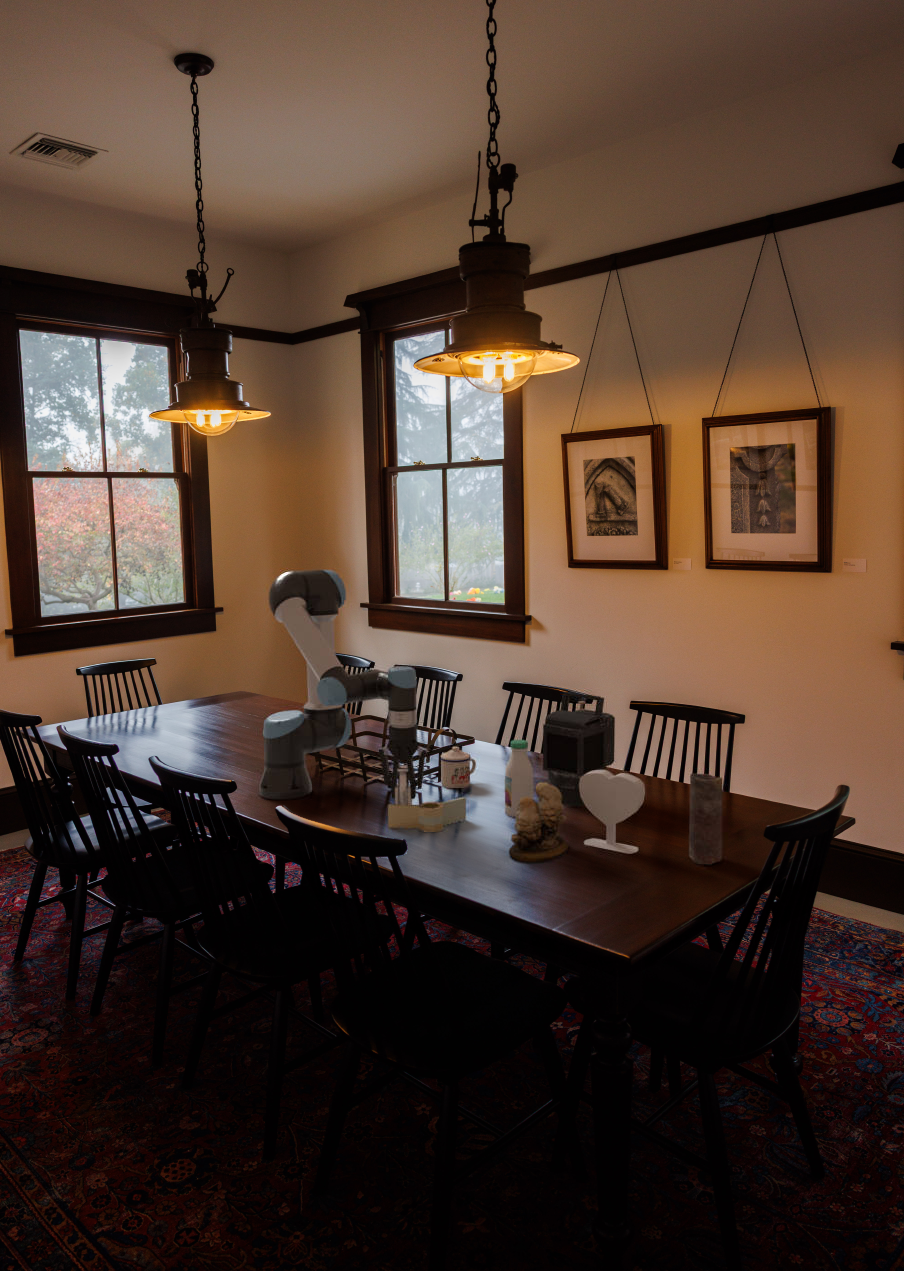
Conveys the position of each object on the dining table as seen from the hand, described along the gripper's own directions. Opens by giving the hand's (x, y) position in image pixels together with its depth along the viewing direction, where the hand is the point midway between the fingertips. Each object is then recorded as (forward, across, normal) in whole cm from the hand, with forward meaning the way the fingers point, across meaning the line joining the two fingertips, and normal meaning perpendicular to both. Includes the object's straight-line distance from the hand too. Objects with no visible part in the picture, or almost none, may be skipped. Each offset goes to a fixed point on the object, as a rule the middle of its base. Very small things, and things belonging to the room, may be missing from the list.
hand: (403, 809), depth 234 cm
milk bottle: (+1, +31, +3) cm, 31 cm away
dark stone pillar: (+1, +75, -26) cm, 79 cm away
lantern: (+1, +47, +18) cm, 50 cm away
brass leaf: (+1, +5, -11) cm, 12 cm away
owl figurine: (+1, +37, -24) cm, 44 cm away
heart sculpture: (+1, +54, -19) cm, 57 cm away
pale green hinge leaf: (+1, +12, -8) cm, 14 cm away
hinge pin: (+1, 0, 0) cm, 1 cm away
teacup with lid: (+1, +12, +29) cm, 31 cm away
